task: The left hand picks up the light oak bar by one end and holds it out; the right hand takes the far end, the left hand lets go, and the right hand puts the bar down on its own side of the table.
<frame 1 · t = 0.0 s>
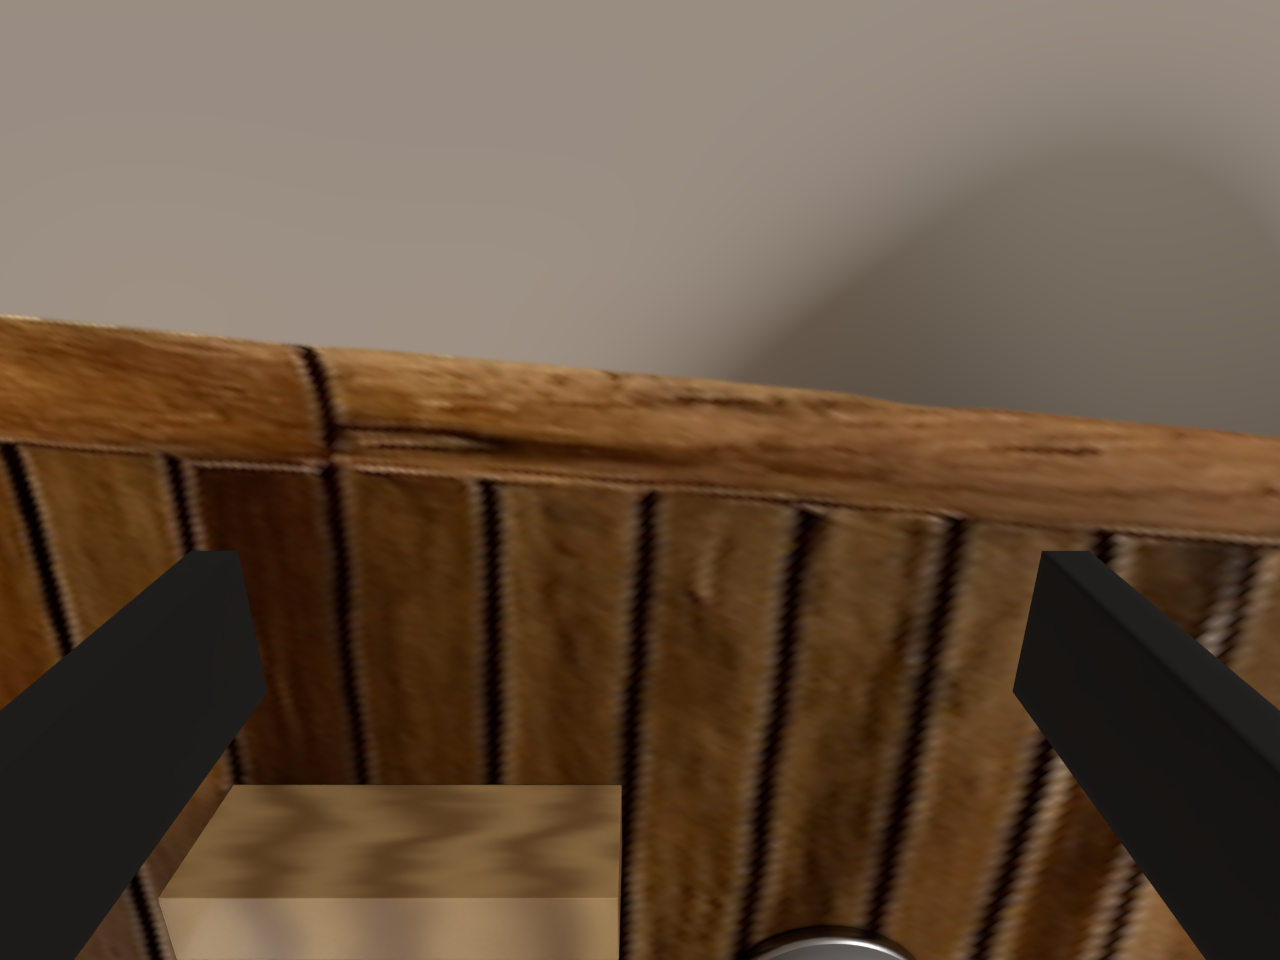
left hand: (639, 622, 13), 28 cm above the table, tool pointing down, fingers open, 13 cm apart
bar: (430, 813, 51), on the table
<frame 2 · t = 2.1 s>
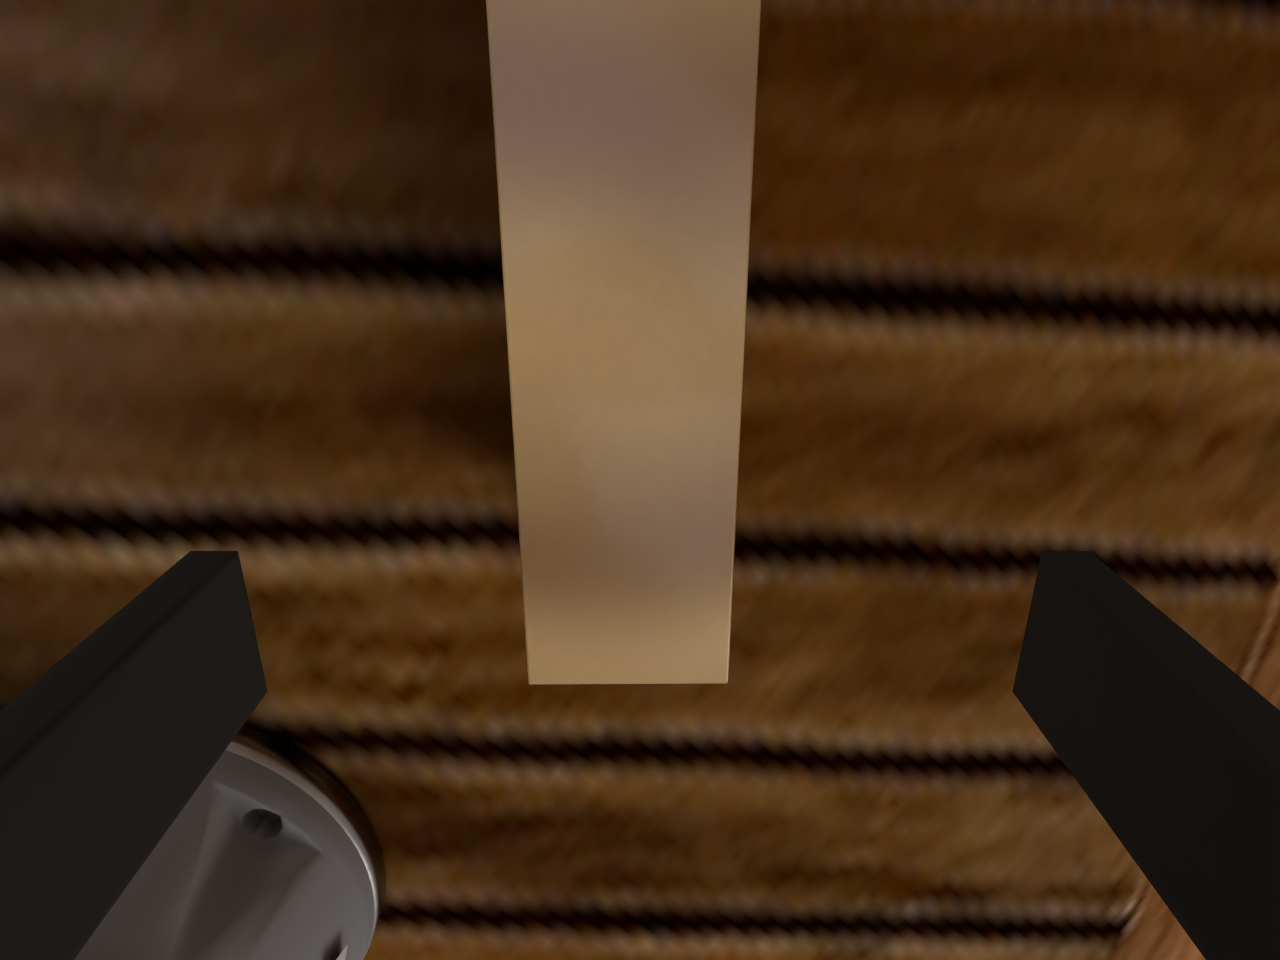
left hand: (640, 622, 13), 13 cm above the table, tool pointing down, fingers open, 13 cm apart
bar: (627, 129, 22), on the table
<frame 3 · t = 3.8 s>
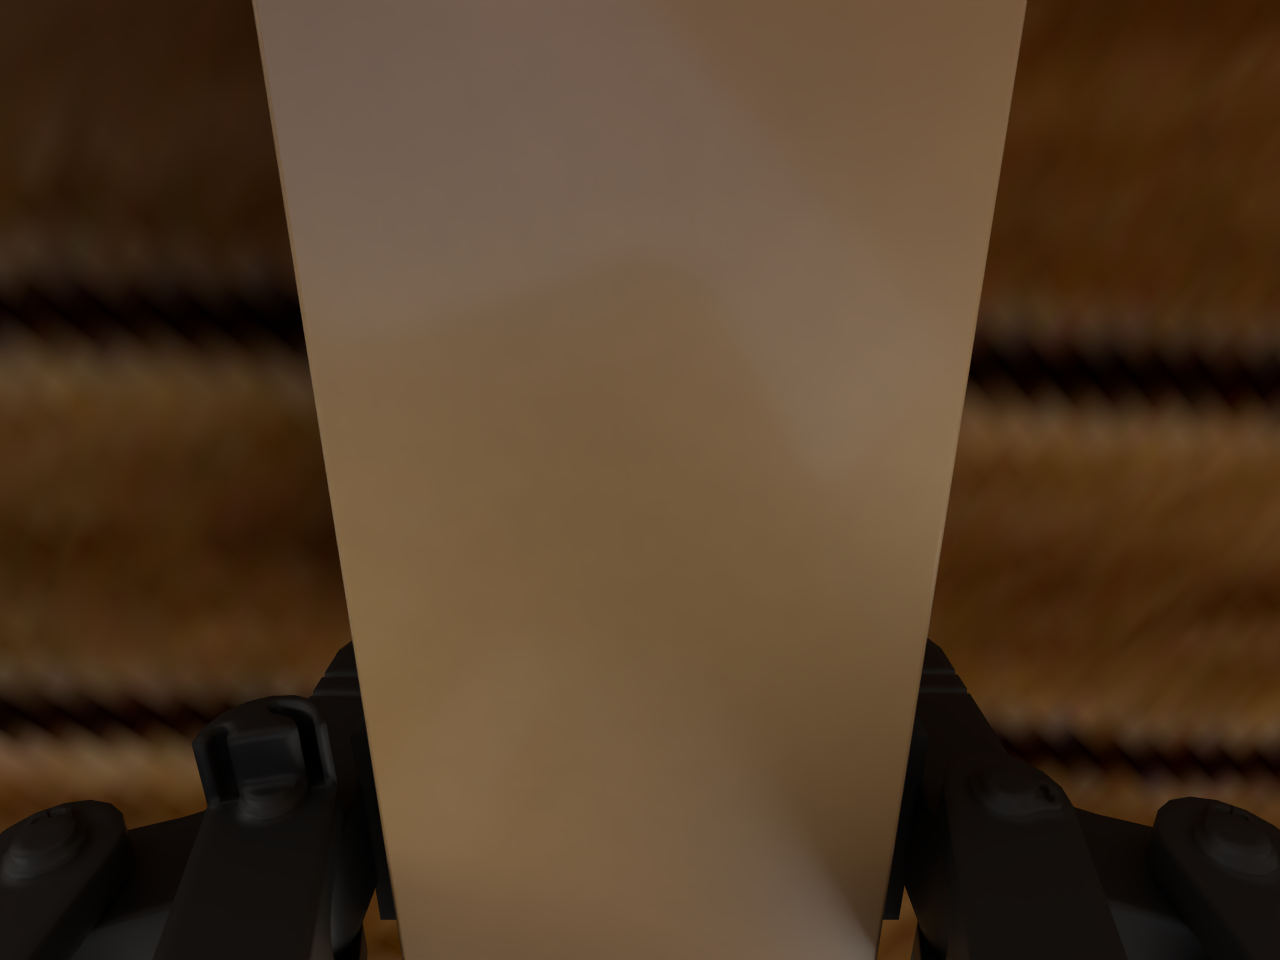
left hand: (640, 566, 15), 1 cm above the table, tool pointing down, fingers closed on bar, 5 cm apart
bar: (639, 90, 12), on the table, touching left hand
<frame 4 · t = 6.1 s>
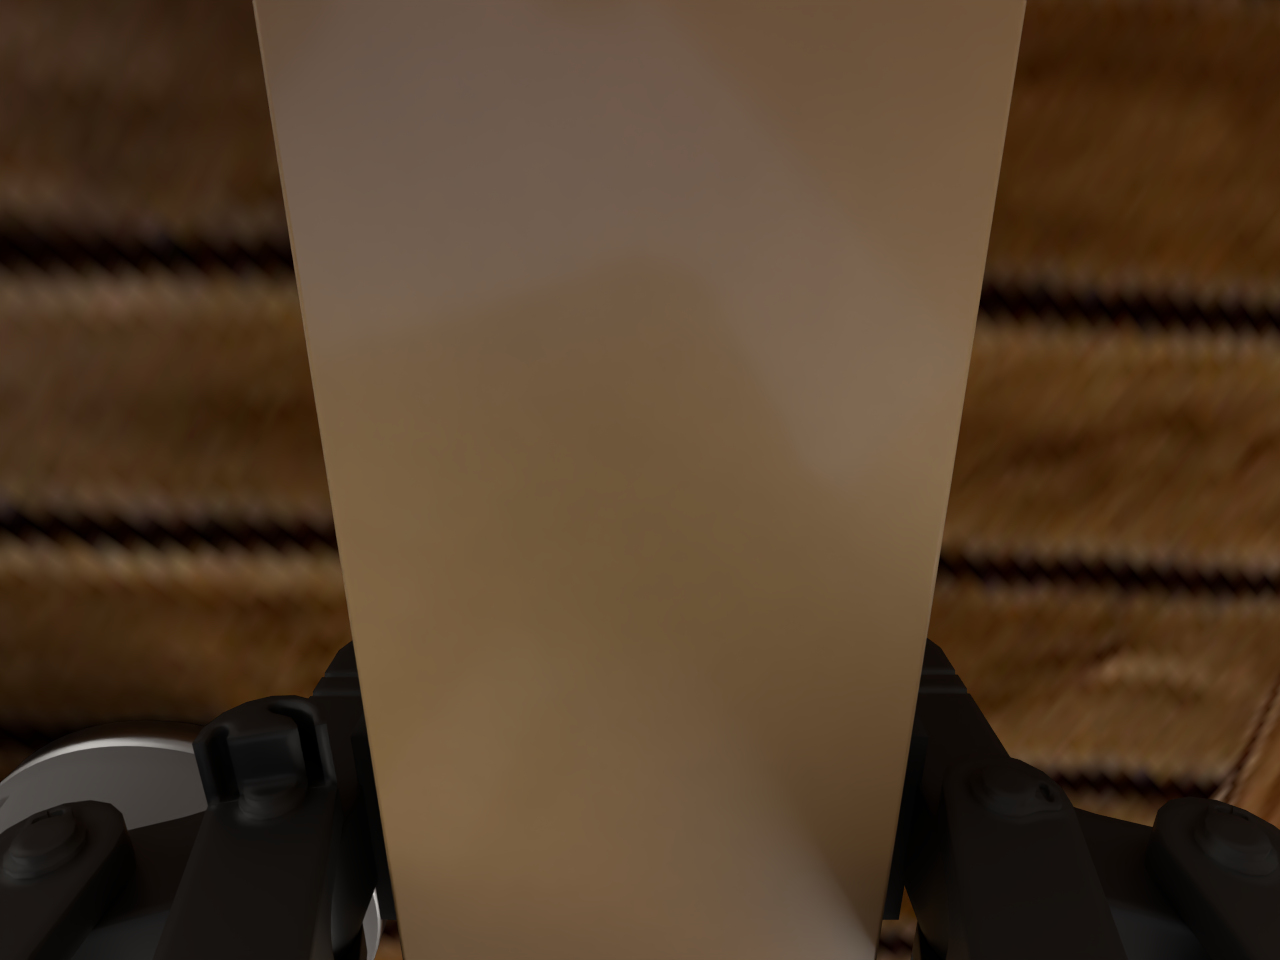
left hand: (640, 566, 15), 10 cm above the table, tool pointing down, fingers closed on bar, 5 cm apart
bar: (639, 90, 12), point 9 cm above the table, touching left hand
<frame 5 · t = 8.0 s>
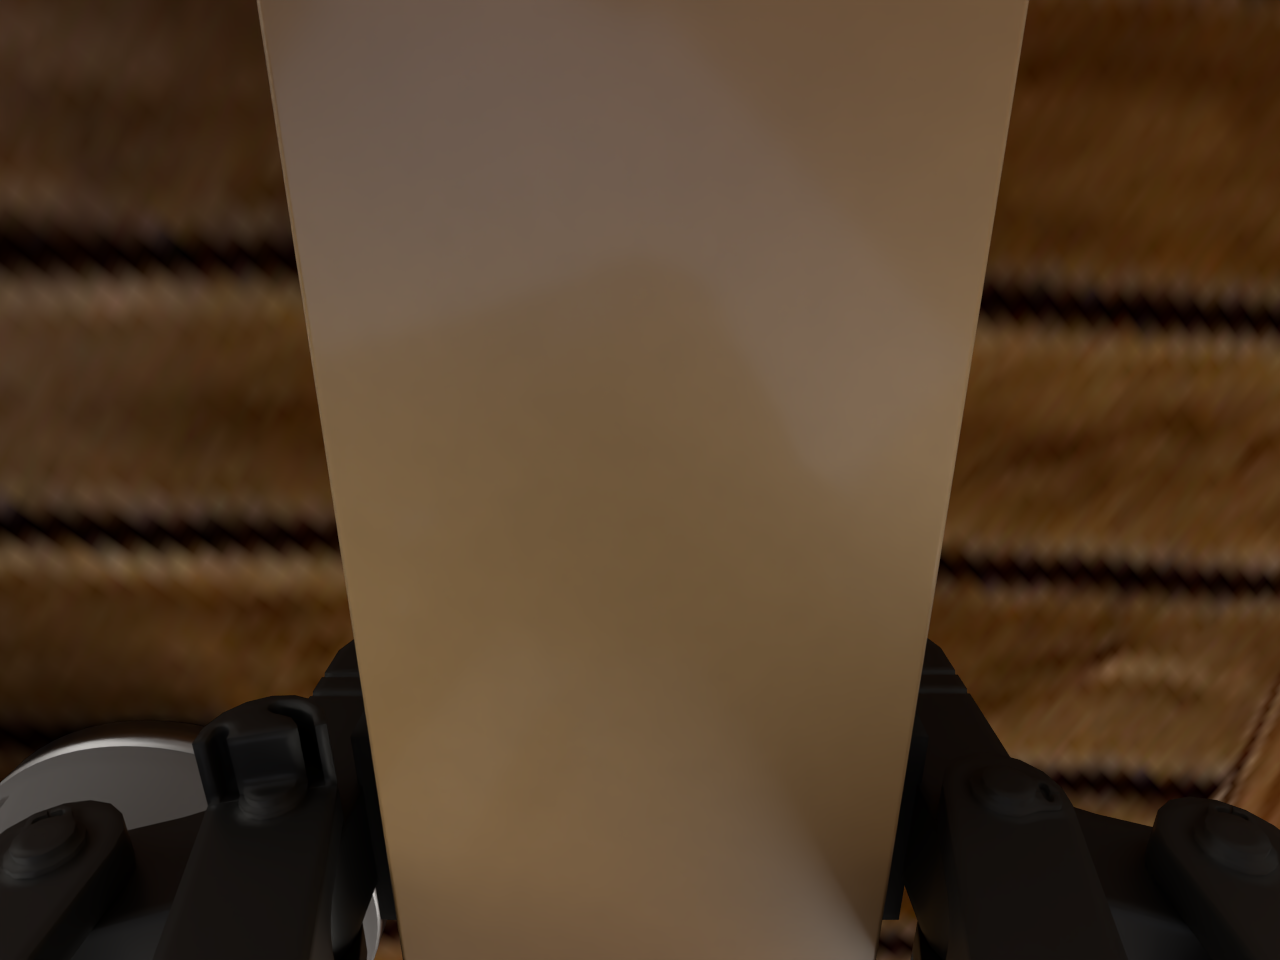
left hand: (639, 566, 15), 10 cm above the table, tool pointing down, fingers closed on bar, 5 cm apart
bar: (640, 90, 12), point 9 cm above the table, touching left hand, right hand
when the left hand's fingers open (10 cm above the table, at t = 8.6 s): bar stays where it is, held by the right hand.
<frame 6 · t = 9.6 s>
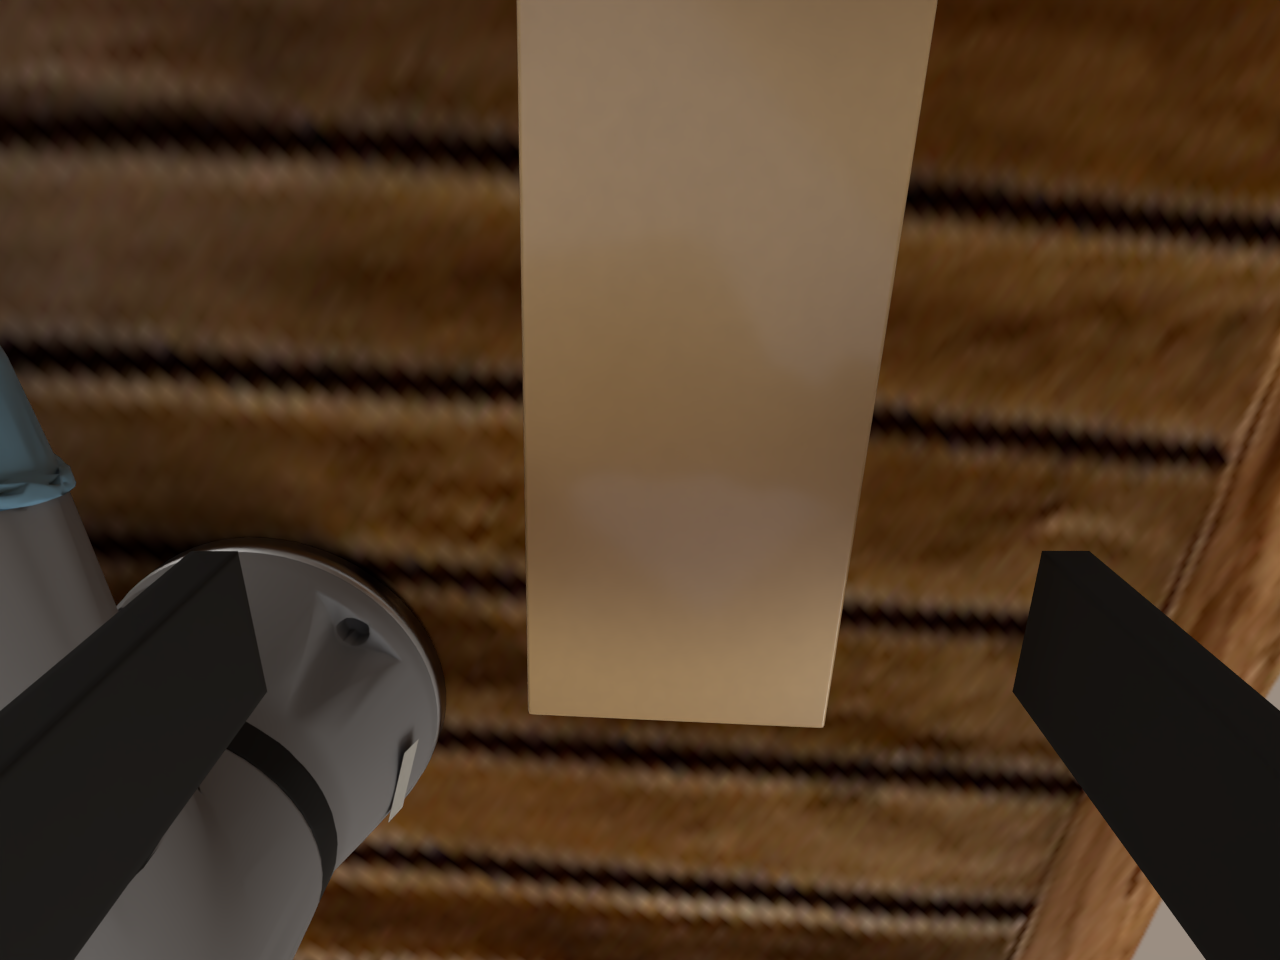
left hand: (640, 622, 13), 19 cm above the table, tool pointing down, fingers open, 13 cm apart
when the right hand's fingers open (2 cm above the table, at t = 12.1 s): bar stays where it is, on the table.
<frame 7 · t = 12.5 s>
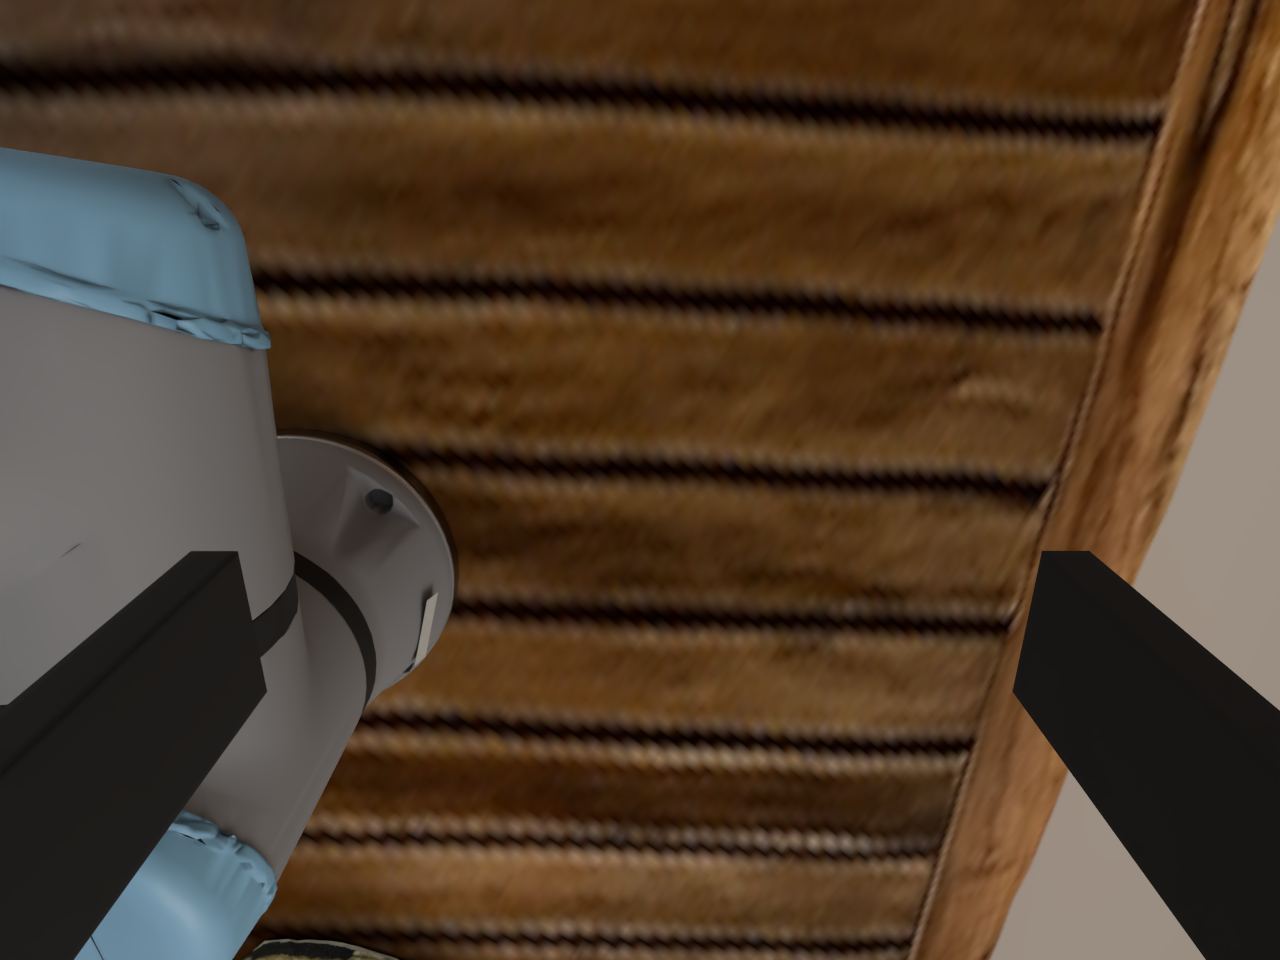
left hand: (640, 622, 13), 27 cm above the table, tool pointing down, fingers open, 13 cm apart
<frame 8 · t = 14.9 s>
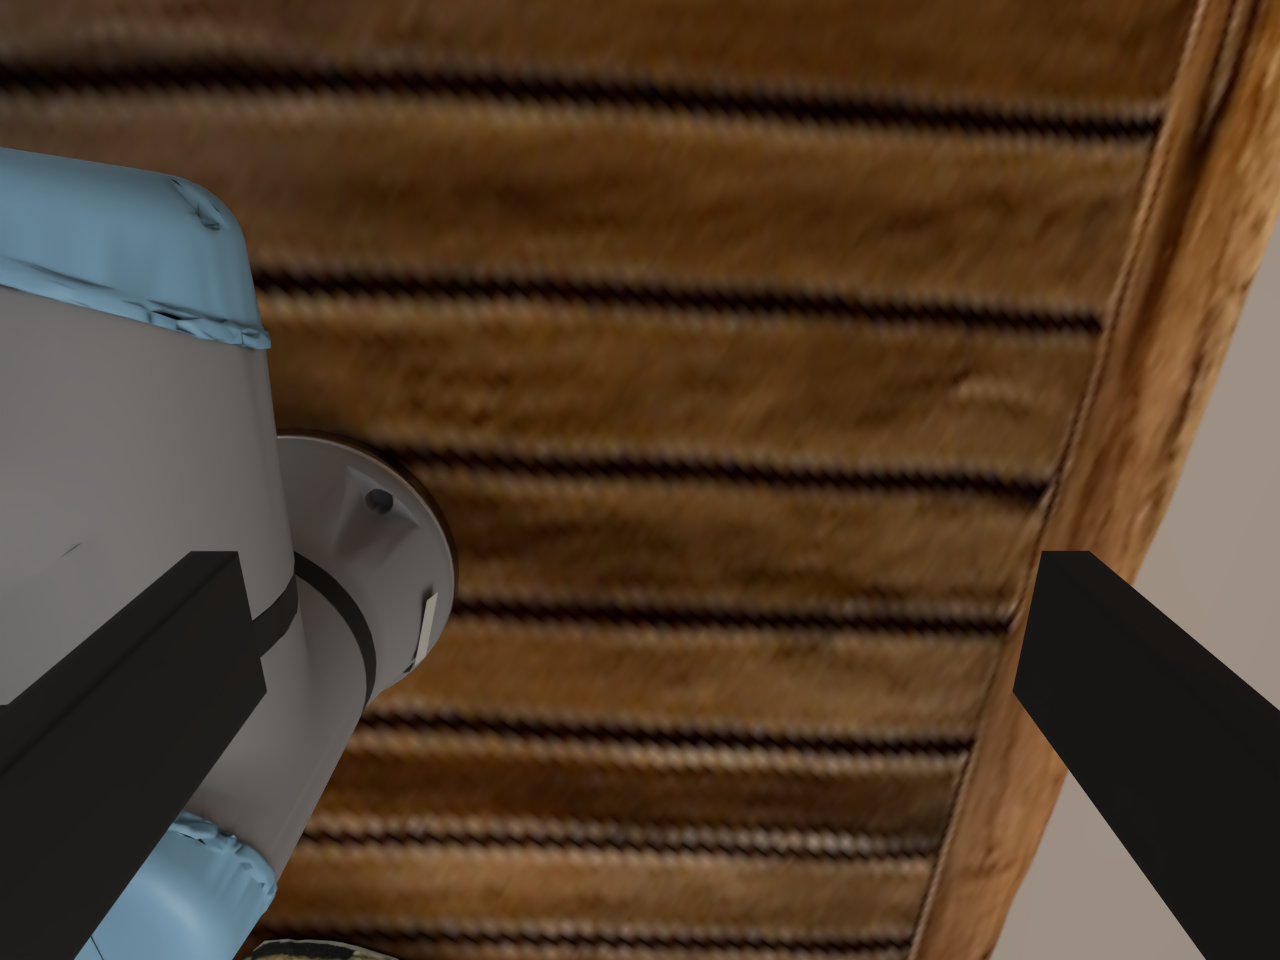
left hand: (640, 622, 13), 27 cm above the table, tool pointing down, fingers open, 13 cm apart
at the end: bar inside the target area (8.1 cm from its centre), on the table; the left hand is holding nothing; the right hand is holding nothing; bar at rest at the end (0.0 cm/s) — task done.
